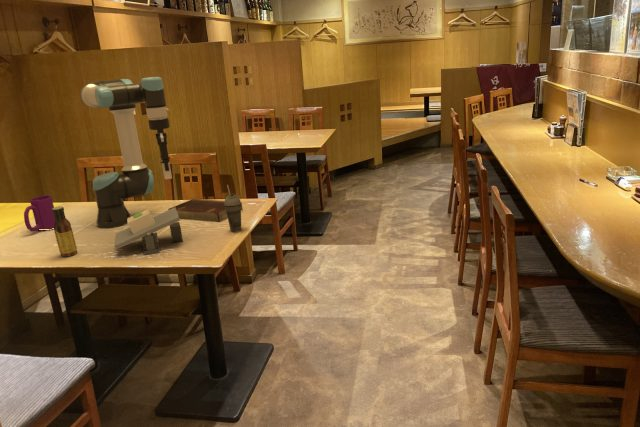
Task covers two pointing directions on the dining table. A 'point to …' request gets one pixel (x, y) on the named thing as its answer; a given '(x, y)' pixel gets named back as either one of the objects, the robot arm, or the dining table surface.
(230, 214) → the beverage cup
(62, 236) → the sauce bottle
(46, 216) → the mug
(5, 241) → the dining table surface
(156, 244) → the pivot stand
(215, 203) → the hardback book
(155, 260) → the dining table surface
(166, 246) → the dining table surface
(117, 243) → the instrument plate
